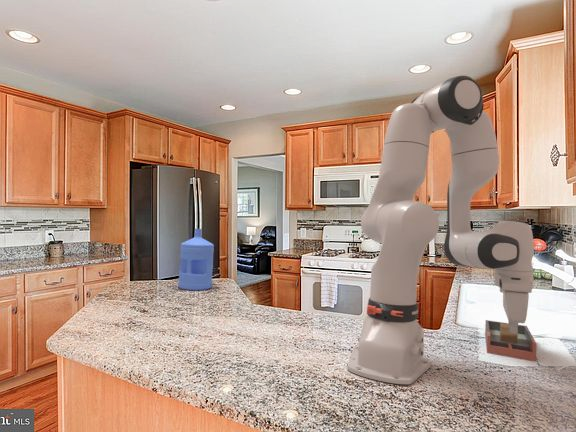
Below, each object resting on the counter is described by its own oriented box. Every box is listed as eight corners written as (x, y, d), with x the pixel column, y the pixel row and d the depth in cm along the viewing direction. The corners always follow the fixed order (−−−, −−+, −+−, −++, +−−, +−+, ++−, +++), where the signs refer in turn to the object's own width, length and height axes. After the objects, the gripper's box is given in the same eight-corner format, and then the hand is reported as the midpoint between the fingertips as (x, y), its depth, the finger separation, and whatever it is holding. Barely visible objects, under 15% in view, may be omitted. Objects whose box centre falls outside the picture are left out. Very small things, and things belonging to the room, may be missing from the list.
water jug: (189, 283, 182) (192, 228, 182) (217, 286, 177) (220, 229, 178) (171, 288, 167) (174, 228, 167) (201, 291, 162) (205, 229, 163)
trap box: (536, 361, 92) (536, 343, 92) (486, 352, 97) (487, 335, 97) (526, 340, 110) (526, 325, 110) (485, 334, 115) (485, 320, 115)
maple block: (517, 343, 100) (517, 328, 100) (500, 340, 102) (501, 326, 102) (515, 339, 104) (516, 325, 104) (499, 337, 105) (500, 323, 106)
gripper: (497, 274, 108) (497, 321, 107) (502, 284, 90) (501, 340, 89) (522, 276, 105) (522, 324, 105) (532, 287, 87) (532, 344, 86)
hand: (512, 332), depth 97 cm, fingers closed
